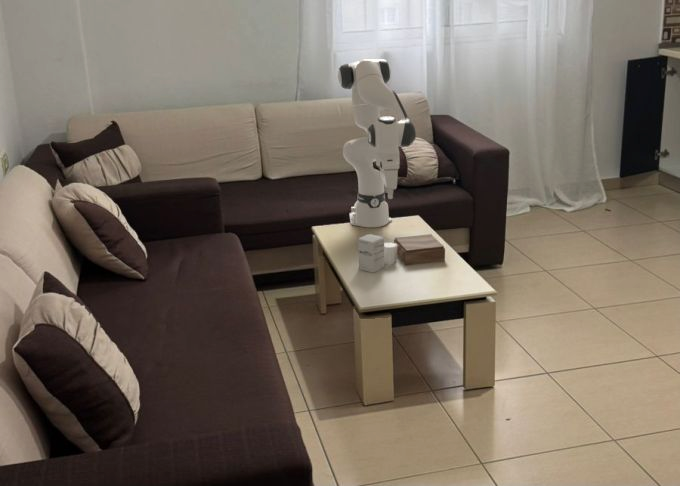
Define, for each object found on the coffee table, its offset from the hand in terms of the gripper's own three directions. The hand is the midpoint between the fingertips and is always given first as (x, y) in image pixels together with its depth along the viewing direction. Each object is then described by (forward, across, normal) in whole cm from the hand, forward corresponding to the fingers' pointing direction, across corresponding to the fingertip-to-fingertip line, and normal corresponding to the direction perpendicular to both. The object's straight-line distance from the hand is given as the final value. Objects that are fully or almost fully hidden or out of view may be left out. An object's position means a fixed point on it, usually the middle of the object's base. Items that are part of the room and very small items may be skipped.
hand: (388, 195), depth 331 cm
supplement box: (+27, +8, -8) cm, 29 cm away
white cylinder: (+27, +1, -1) cm, 27 cm away
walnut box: (+26, -3, +12) cm, 29 cm away
